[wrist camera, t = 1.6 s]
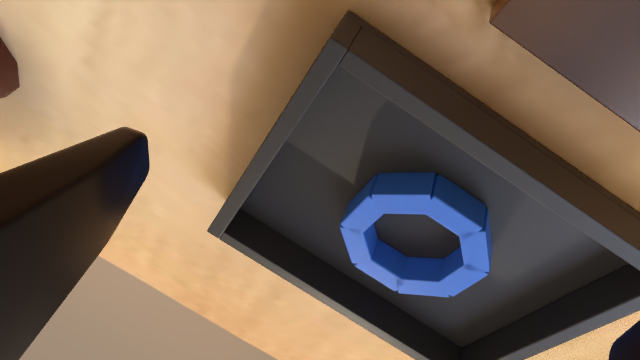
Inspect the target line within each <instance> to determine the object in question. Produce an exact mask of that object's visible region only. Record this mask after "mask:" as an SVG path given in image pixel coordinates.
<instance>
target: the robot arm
mask: <svg viewBox="0 0 640 360" xmlns="http://www.w3.org/2000/svg"><path fill="white" fill-rule="evenodd" d="M148 172H149V152H148V140H147V137H146V135H145V134H144V133H142V132H139V131H137V130H134V129H131V128H128V127H121V128H118V129H116V130H113V131H110V132H108V133H105V134H102V135H100V136H97V137H95V138H92V139H89V140H87V141H84V142H81V143H79V144H76V145H74V146H71V147H68V148H66V149H63V150H60V151H58V152H55V153H52V154H50V155H47V156H45V157H42V158H39V159H37V160H34V161H31V162H29V163H26V164H24V165H21V166H18V167H16V168H13V169H10V170H8V171H5V172H2V173H0V360H19V359H20V358H21V356H22V355H23V354H24V352H25V351H26V350H27V348H28V347H29V346H30V344H31V343H32V342H33V341H34V339H35V338H36V337H37V335H38V334H39V333H40V331H41V330H42V329H43V327H44V326H45V325H46V323H47V322H48V321H49V319H50V318H51V317H52V315H53V314H54V313H55V311H56V310H57V309H58V307H59V306H60V305H61V304H62V302H63V301H64V300H65V298H66V297H67V295H68V294H69V293H70V292H71V290H72V289H73V288H74V286H75V285H76V284H77V282H78V281H79V280H80V278H81V277H82V276H83V275H84V273H85V272H86V271H87V269H88V268H89V267H90V265H91V264H92V263H93V262H94V260H95V259H96V257H97V256H98V255H99V254H100V252H101V251H102V249H103V248H104V247H105V245H106V244H107V242H108V241H109V239H110V238H111V236H112V235H113V233H114V231H115V230H116V228H117V226H118V225H119V223H120V221H121V219H122V218H123V216H124V214H125V213H126V211H127V209H128V208H129V206H130V204H131V203H132V201H133V199H134V197H135V196H136V194H137V192H138V191H139V189H140V187H141V186H142V184H143V182H144V181H145V179H146V177H147V175H148ZM609 360H640V321H638V322H637V323H636V324H634V325H633V326H632V327H631V328H630V329H629V330H627V331H626V332H625V333H624V334H623V335H621V336H620V337H619V338H618V339H617V340H616V341H615V342H614V343H613V345H612V347H611V350H610V354H609Z"/></svg>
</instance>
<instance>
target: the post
mask: <svg viewBox="0 0 640 360" xmlns="http://www.w3.org/2000/svg"><path fill="white" fill-rule="evenodd" d="M489 22H490V24H492V25H493V26H494V27H496V28H497V29H499V30H500V31H501V32H503V33H504V34H506V35H507V36H508V37H510V38H511V39H512V40H514V41H515V42H517V43H518V44H519V45H521V46H522V47H523V48H525V49H526V50H528V51H529V52H530V53H532V54H533V55H534V56H536V57H537V58H539V59H540V60H541V61H543V62H544V63H546V64H547V65H548V66H550V67H551V68H552V69H554V70H555V71H557V72H558V73H559V74H561V75H562V76H563V77H565V78H566V79H568V80H569V81H570V82H572V83H573V84H574V85H576V86H577V87H579V88H580V89H581V90H583V91H584V92H586V93H587V94H588V95H590V96H591V97H592V98H594V99H595V100H597V101H598V102H599V103H601V104H602V105H603V106H605V107H606V108H608V109H609V110H610V111H612V112H613V113H614V114H616V115H617V116H619V117H620V118H621V119H623V120H624V121H626V122H627V123H628V124H630V125H631V126H632V127H634V128H635V129H637V130H638V131H639V132H640V0H499V1H498V2H497V3H496V4H495V5H494V7H493V8H492V10H491V15H490V20H489Z"/></svg>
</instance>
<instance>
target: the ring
mask: <svg viewBox="0 0 640 360" xmlns="http://www.w3.org/2000/svg"><path fill="white" fill-rule="evenodd" d="M383 214H426V215H428V216H429V217H431V218H432V219H434V220H435V221H437V222H438V223H440V224H441V225H443V226H444V227H446V228H447V229H449V230H450V231H452V232H453V233H455V234H456V235H458V236H459V238H460V245H461V247H459V248H458V249H456V250H455V251H454V252H452V253H451V254H449V255H448V256H447V257H445V258H444V259H439V258H420V257H407V256H405V255H403V254H402V253H400V252H399V251H397V250H396V249H394V248H393V247H391V246H389V245H388V244H386V243H385V242H383V241H382V240H380V239H379V238H378V236H377V233H376V229H375V226H374V222H375V221H376V220H378V219H379V218H380V217H381V216H382V215H383ZM340 224H341V225H340V230H341V233H342V236H343V239H344V242H345V245H346V248H347V250H348V253H349V256H350V259H351V262H352V263H355V267H357V268H358V269H360V270H362V271H363V272H365V273H366V274H368V275H369V276H371V277H373V278H374V279H376V280H377V281H379V282H381V283H382V284H384V285H385V286H387V287H388V288H390V289H392V290H393V291H397V290H398V293H402V294H414V295H426V296H438V297H450V295H451V296H455V295H457V294H458V293H460V292H461V291H463V290H465V289H466V288H468V287H469V286H471V285H473V284H474V283H476V282H478V281H479V280H481V279H482V278H484V277H486V276H487V275H488V274H489V272H490V269H491V260H492V250H493V246H492V236H491V227H490V218H489V209H488V208H486V205H485V204H484V203H482V202H481V201H479V200H478V199H476V198H475V197H473V196H472V195H470V194H469V193H467V192H466V191H464V190H463V189H461V188H460V187H458V186H457V185H455V184H454V183H452V182H451V181H449V180H448V179H446V178H445V177H444V176H442V175H440V174H439V175H438V176H437V177H436V173H435V172H416V173H379V175H378V176H377V175H375V176H374V177H373V178H372V179H371V180H370V181H369V182H368V183H367V184H366V185H365V186H364V187H363V188H362V190H361V191H360V192H359V193H358V194H357V195H356V196H355V197H354V198H353V199H352V200H351V201H350V202H349V203H348V206H347V208H346V210H345V213H344V215H343V218H342V220H341V223H340Z"/></svg>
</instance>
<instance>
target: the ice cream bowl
mask: <svg viewBox="0 0 640 360" xmlns="http://www.w3.org/2000/svg"><path fill="white" fill-rule="evenodd" d="M17 88H19V78H18V69H17V63H16V61H15V60H14V58H13V57H12V55H11V54H10V52H9V51H8V49H7V48H6V46H5V45H4V43H3V42H2V40H1V39H0V98H4V97H6V96H8V95H9V94H11V93H12V92H13V91H15V90H16V89H17Z"/></svg>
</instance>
